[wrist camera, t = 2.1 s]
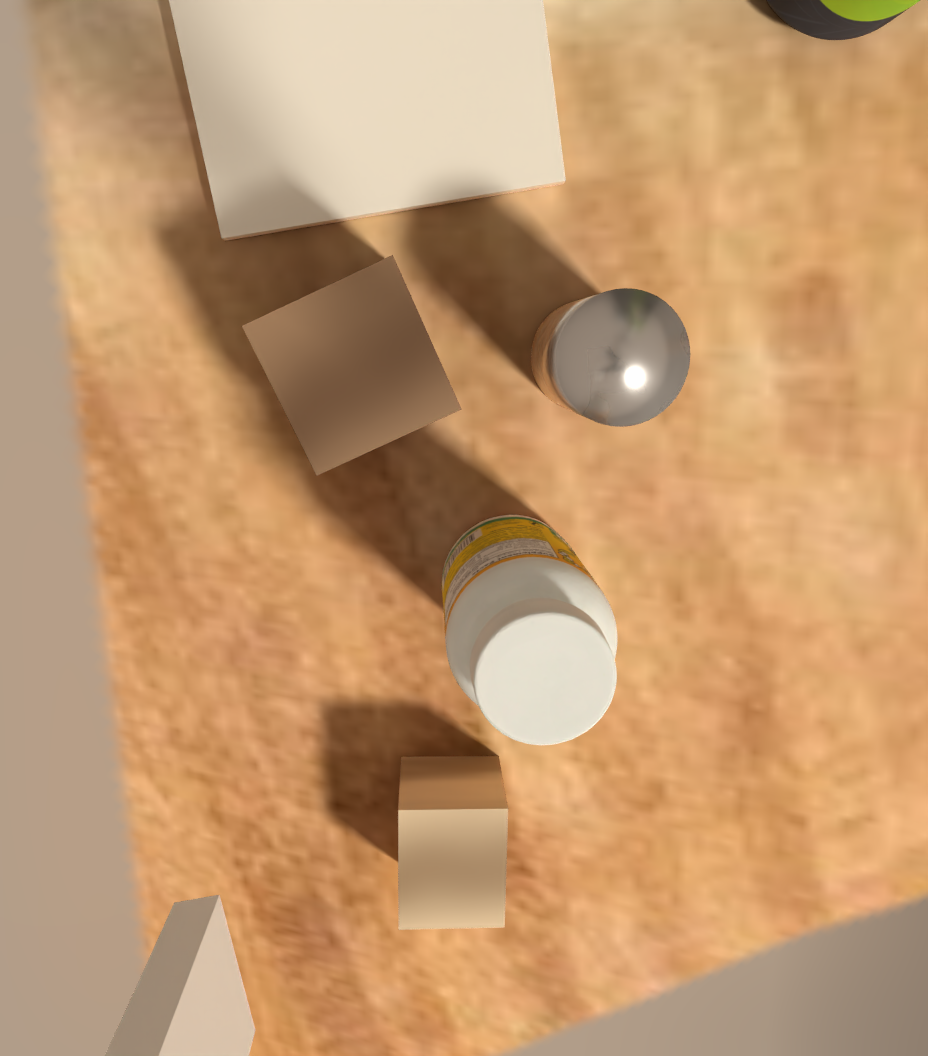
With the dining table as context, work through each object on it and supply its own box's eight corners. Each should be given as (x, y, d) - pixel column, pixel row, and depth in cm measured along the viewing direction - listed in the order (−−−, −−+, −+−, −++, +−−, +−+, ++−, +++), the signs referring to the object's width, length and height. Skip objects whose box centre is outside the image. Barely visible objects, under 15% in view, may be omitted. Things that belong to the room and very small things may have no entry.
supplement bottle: (433, 521, 31) (435, 598, 21) (571, 503, 31) (634, 572, 21) (450, 652, 32) (460, 779, 22) (583, 634, 32) (648, 754, 23)
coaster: (138, -155, 25) (132, -166, 25) (512, -216, 25) (514, -229, 25) (225, 240, 28) (221, 238, 27) (562, 184, 28) (565, 180, 28)
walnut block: (272, 329, 29) (241, 326, 24) (398, 271, 29) (392, 254, 24) (334, 455, 30) (316, 475, 25) (455, 399, 30) (461, 409, 25)
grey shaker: (523, 310, 29) (547, 300, 23) (631, 291, 29) (683, 278, 23) (538, 419, 30) (566, 436, 24) (643, 401, 30) (696, 414, 24)
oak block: (401, 755, 33) (398, 810, 29) (498, 754, 33) (508, 808, 29) (401, 862, 34) (398, 929, 30) (495, 861, 34) (504, 927, 30)
